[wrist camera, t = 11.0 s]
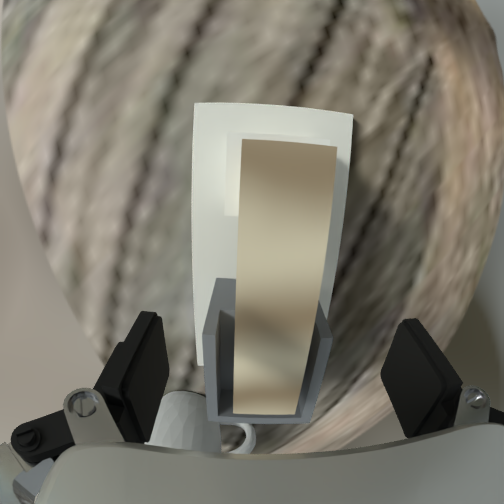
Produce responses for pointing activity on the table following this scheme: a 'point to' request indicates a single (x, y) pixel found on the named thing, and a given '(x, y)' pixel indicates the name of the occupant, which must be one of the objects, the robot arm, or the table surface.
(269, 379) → the top rail
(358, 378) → the table surface
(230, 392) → the cup bracket
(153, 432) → the mug
